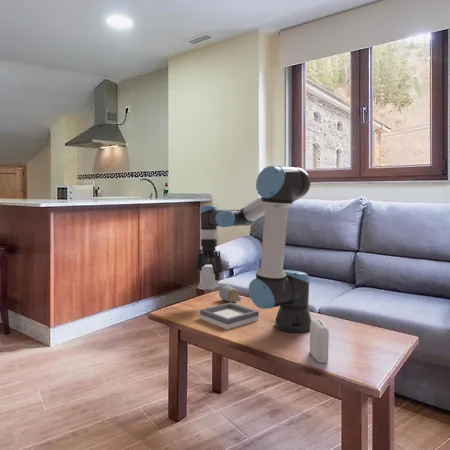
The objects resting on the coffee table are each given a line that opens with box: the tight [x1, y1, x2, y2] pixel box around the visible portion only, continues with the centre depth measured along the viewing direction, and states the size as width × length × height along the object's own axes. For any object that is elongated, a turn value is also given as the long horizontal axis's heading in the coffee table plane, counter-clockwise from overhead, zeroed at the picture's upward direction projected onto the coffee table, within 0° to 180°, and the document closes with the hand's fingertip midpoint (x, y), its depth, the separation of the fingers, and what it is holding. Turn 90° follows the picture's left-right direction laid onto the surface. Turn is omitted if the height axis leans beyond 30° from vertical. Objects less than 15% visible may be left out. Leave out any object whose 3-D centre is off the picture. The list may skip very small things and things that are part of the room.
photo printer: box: [309, 318, 330, 364], centre depth 128 cm, size 10×4×12 cm, turn 3°
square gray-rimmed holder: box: [199, 302, 260, 330], centre depth 166 cm, size 18×18×4 cm
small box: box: [201, 264, 215, 290], centre depth 182 cm, size 8×6×10 cm
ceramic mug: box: [219, 284, 242, 303], centre depth 196 cm, size 11×8×8 cm
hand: (209, 285), depth 182 cm, fingers closed on small box, 9 cm apart
